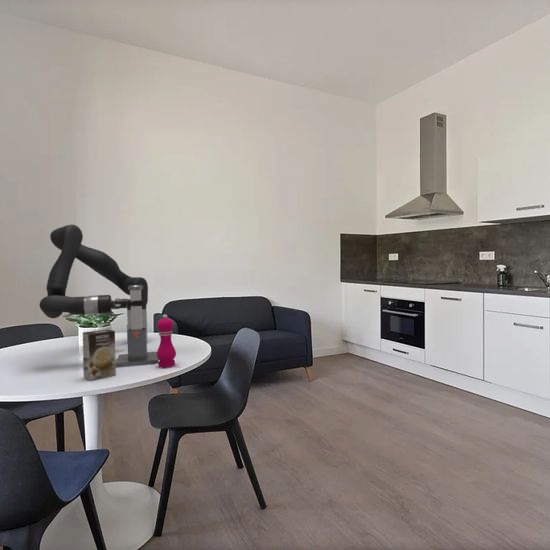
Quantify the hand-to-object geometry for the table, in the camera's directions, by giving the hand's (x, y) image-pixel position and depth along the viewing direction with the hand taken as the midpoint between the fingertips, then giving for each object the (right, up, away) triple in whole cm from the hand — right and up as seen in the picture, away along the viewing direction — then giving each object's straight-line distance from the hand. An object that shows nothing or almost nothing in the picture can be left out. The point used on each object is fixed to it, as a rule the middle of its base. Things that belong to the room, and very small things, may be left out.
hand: (143, 302), depth 162 cm
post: (-2, -17, 0) cm, 17 cm away
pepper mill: (+12, -24, -9) cm, 29 cm away
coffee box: (-8, -25, -22) cm, 34 cm away
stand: (-2, -24, 0) cm, 24 cm away
